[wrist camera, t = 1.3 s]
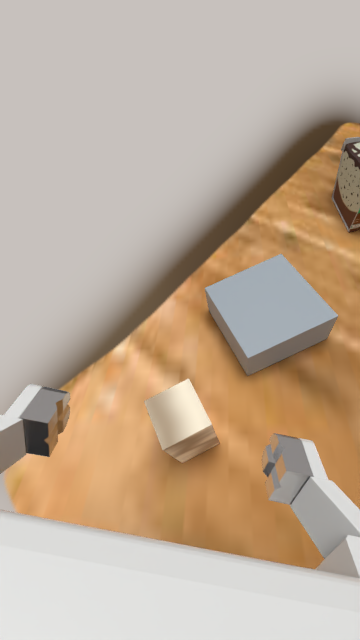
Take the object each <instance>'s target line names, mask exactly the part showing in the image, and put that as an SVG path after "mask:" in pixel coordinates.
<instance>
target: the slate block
mask: <svg viewBox="0 0 360 640" xmlns="http://www.w3.org/2000/svg"><path fill="white" fill-rule="evenodd" d="M205 292H206V297H207V303H208V308H209V312H210V313H211V315H212V317H213V318H214V320H215V322H216V323H217V325H218V327H219V329H220V330H221V332H222V334H223V335H224V337H225V339H226V340H227V342H228V344H229V345H230V347H231V349H232V351H233V352H234V354H235V356H236V357H237V359H238V361H239V362H240V364H241V366H242V368H243V369H244V371H245V373H246V374H247V376H249V375H251V374H253V373H255V372H257V371H260V370H262V369H264V368H266V367H268V366H270V365H272V364H274V363H276V362H279V361H281V360H283V359H285V358H287V357H289V356H291V355H293V354H296V353H298V352H300V351H302V350H304V349H306V348H308V347H310V346H313V345H315V344H317V343H319V342H321V341H323V340H325V339H327V338H328V336H329V334H330V332H331V330H332V328H333V326H334V324H335V322H336V320H337V317H338V315H337V314H336V313H335V312H334V311H333V310H332V309H331V307H330V306H329V305H328V304H327V303H326V302H325V301H324V300H323V299H322V298H321V297H320V296H319V294H318V293H317V292H316V291H315V290H314V289H313V288H312V287H311V286H310V285H309V284H308V282H307V281H306V280H305V279H304V278H303V277H302V276H301V275H300V274H299V273H298V272H297V270H296V269H295V268H294V267H293V266H292V265H291V264H290V263H289V262H288V261H287V260H286V258H285V257H284V256H283V255H282V254H280V255H277V256H275V257H273V258H271V259H268V260H266V261H264V262H262V263H260V264H257V265H255V266H253V267H251V268H248V269H246V270H244V271H242V272H239V273H237V274H235V275H233V276H231V277H228V278H226V279H224V280H222V281H219V282H217V283H215V284H213V285H210V286H208V287H206V288H205Z"/></svg>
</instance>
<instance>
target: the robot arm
mask: <svg viewBox="0 0 360 640" xmlns="http://www.w3.org/2000/svg"><path fill="white" fill-rule="evenodd" d="M69 400H70V393H69V392H66V391H62V390H57V389H53V388H49V387H43V386H39V385H35V384H30V385H28V386H27V387H26V388H25V389H24V391H23V392H22V393H21V394H20V395H19V397H18V398H17V399H16V400H15V402H14V403H13V404H12V405H11V407H10V408H9V409H8V411H7V412H6V413H5V414H4V415H0V474H1V473H2V472H3V471H5V470H6V469H7V468H9V467H10V466H11V465H13V464H14V463H15V462H17V461H18V460H20V459H21V458H22V457H24V456H25V455H26V453H29V454H35V455H41V456H47V457H50V455H51V453H52V451H53V450H54V448H55V446H56V444H57V442H58V434H60V433H62V432H63V431H64V429H65V427H66V425H67V422H68V419H69V414H70V407H69V405H68V402H69ZM269 440H270V445H268V446H266V447H265V449H264V451H263V455H262V468H263V472H264V473H265V475H266V476H267V477H268V478H267V480H266V482H265V485H266V490H267V495H268V500H271V501H275V502H280V503H284V504H289V505H290V507H291V508H292V510H293V511H294V513H295V514H296V516H297V518H298V519H299V521H300V522H301V524H302V525H303V527H304V528H305V530H306V531H307V533H308V534H309V536H310V537H311V539H312V540H313V542H314V544H315V545H316V547H317V548H318V550H319V551H320V553H321V554H322V556H323V557H324V560H323V561H322V562H321V564H320V565H319V566H318V567H317V568H316V569H315V570H314V569H309V568H304V567H298V566H293V565H288V564H283V563H277V562H272V561H267V560H262V559H256V558H251V557H246V556H241V555H236V554H230V553H225V552H220V551H215V550H209V549H204V548H199V547H194V546H189V545H183V544H178V543H173V542H168V541H162V540H157V539H152V538H147V537H141V536H136V535H131V534H126V533H120V532H115V531H110V530H105V529H99V528H94V527H89V526H84V525H78V524H73V523H68V522H63V521H57V520H52V519H47V518H42V517H36V516H31V515H26V514H21V513H15V512H10V511H5V510H0V640H360V509H359V508H358V507H357V506H356V505H355V504H354V503H353V502H352V501H351V500H350V499H349V498H348V497H347V496H346V495H345V494H344V493H343V492H342V491H341V490H340V488H339V487H338V486H337V485H336V484H335V483H334V482H333V481H331V480H328V478H327V475H326V473H325V470H324V467H323V465H322V462H321V460H320V457H319V455H318V452H317V450H316V447H315V444H314V443H313V442H312V441H311V440H306V439H301V438H296V437H291V436H285V435H280V434H275V433H274V434H273V435H272V436H271V437H270V439H269Z"/></svg>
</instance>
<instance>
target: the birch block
mask: <svg viewBox="0 0 360 640" xmlns="http://www.w3.org/2000/svg"><path fill="white" fill-rule="evenodd" d="M144 402H145V405H146V408H147V410H148V413H149V416H150V418H151V421H152V423H153V426H154V429H155V431H156V434H157V437H158V439H159V442H160V444H161V447H162V450H163V451H165V452H166V453H168V454H169V455H171V456H172V457H174V458H175V459H177V460H178V461H180V462H181V463H184V462H186V461H188V460H190V459H192V458H193V457H195V456H197V455H199V454H201V453H203V452H205V451H207V450H208V449H210V448H212V447H214V446H216V445H218V444H220V443H219V440H218V438H217V435H216V433H215V431H214V428H213V426H212V424H211V422H210V420H209V418H208V416H207V414H206V412H205V410H204V408H203V406H202V404H201V402H200V400H199V398H198V396H197V394H196V392H195V390H194V388H193V386H192V384H191V382H190V380H189V379H187V380H185V381H183V382H181V383H179V384H177V385H175V386H173V387H171V388H169V389H167V390H165V391H163V392H161V393H159V394H157V395H155V396H153V397H151V398H149V399H148V400H146V401H144Z"/></svg>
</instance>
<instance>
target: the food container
mask: <svg viewBox="0 0 360 640" xmlns="http://www.w3.org/2000/svg"><path fill="white" fill-rule="evenodd" d="M342 150H343V151H342ZM341 151H342V156H341V160H340V164H339V169H338V173H337V177H336V182H335V186H334V190H333V194H332V200H333V202H334V204H335V206H336V208H337V210H338V212H339V214H340V216H341V218H342V220H343V222H344V224H345V226H346V228H347V230H348V232H354V231H357V230H359V229H360V137H355V138H347V139H345V142H344V143H343V146H342V149H341Z"/></svg>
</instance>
